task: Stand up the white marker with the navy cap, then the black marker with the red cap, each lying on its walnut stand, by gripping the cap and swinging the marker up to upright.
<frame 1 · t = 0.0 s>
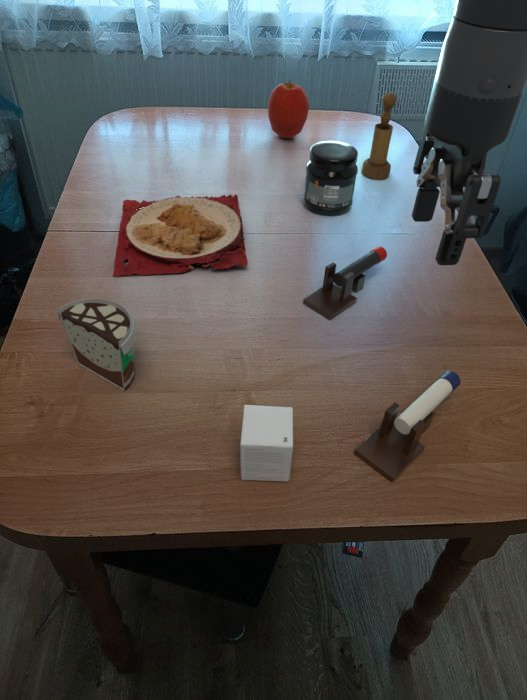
hand: (432, 240, 58), 26 cm above the table, tool pointing down, fingers open, 8 cm apart
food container: (116, 366, 79), on the table
black marker stand: (335, 299, 92), on the table
mortar and pestle: (375, 174, 127), on the table
black marker: (360, 266, 93), point 4 cm above the table, hinge at 0.0°
white marker: (428, 401, 71), point 4 cm above the table, hinge at 0.0°
plate with food: (181, 237, 105), on the table
supplement container: (327, 205, 116), on the table
product box: (265, 462, 68), on the table
white marker stand: (395, 445, 70), on the table
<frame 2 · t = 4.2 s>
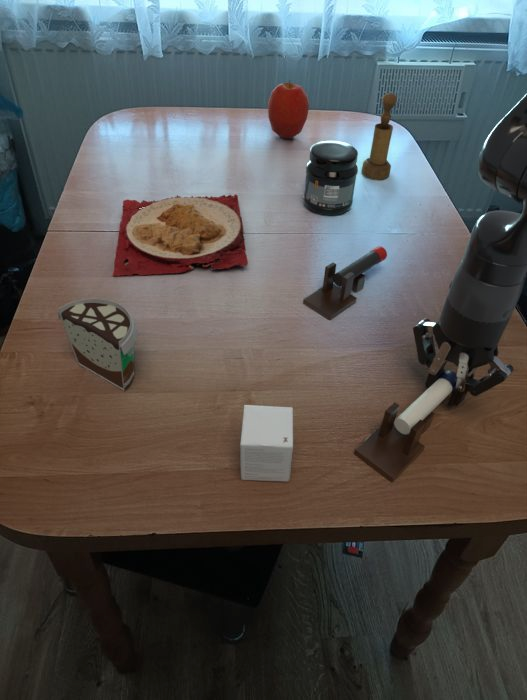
hand: (442, 396, 75), 1 cm above the table, tool pointing down, fingers closed on white marker, 2 cm apart
white marker: (428, 401, 71), point 4 cm above the table, hinge at 0.0°, touching gripper, white marker stand
everything else where it was.
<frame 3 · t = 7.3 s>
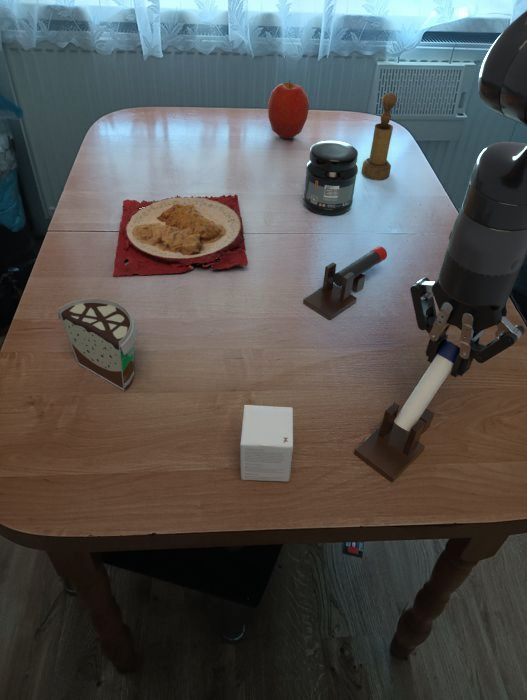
hand: (445, 365, 67), 10 cm above the table, tool pointing down, fingers closed on white marker, 2 cm apart
white marker: (428, 386, 67), point 8 cm above the table, hinge at 47.6°, touching gripper
everything else where it was.
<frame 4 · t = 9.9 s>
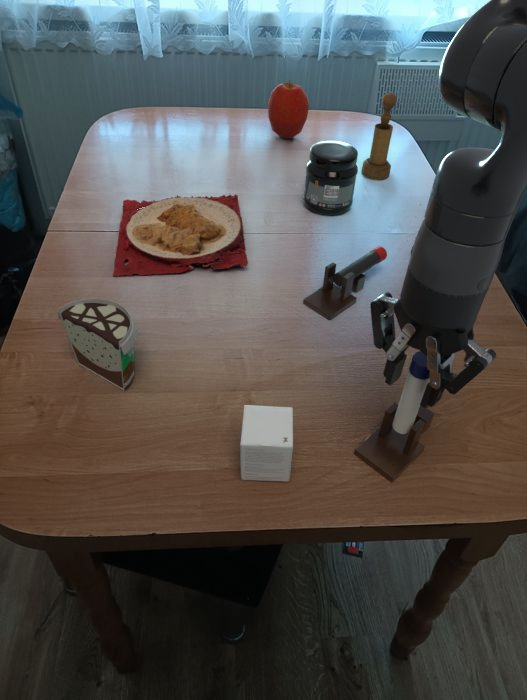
hand: (409, 391, 62), 12 cm above the table, tool pointing down, fingers open, 4 cm apart
white marker: (412, 394, 63), point 10 cm above the table, hinge at 90.3°
everything else where it was.
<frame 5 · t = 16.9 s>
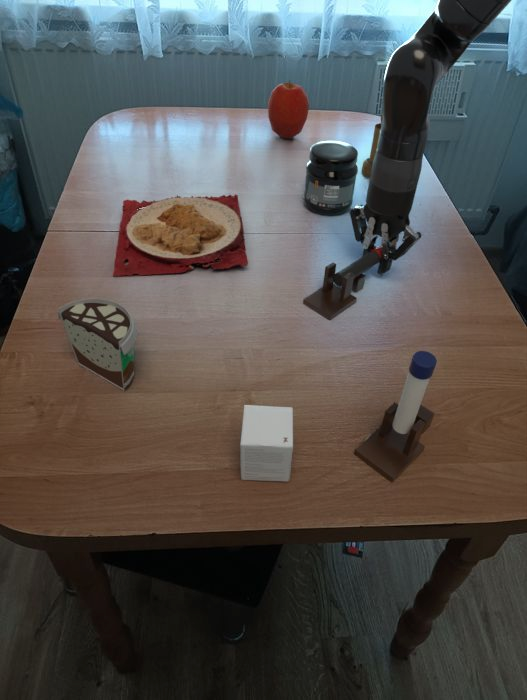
hand: (374, 268, 97), 1 cm above the table, tool pointing down, fingers closed on black marker, 2 cm apart
black marker: (360, 266, 93), point 4 cm above the table, hinge at 0.0°, touching black marker stand, gripper
everything else where it was.
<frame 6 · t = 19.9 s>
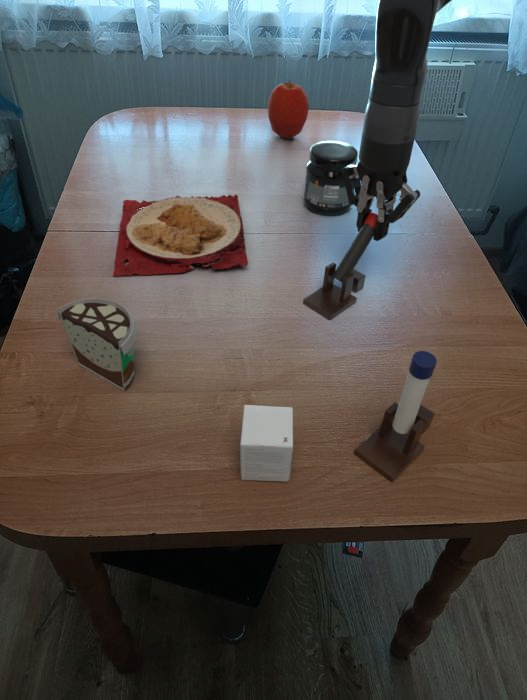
hand: (370, 234, 89), 10 cm above the table, tool pointing down, fingers closed on black marker, 2 cm apart
black marker: (357, 248, 88), point 8 cm above the table, hinge at 47.4°, touching gripper
everything else where it was.
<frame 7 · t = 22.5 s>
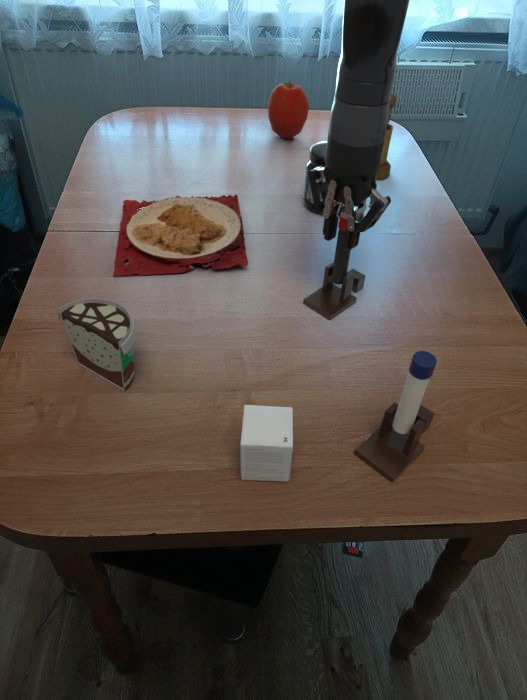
hand: (339, 243, 83), 12 cm above the table, tool pointing down, fingers open, 3 cm apart
black marker: (343, 249, 85), point 10 cm above the table, hinge at 90.1°
everything else where it was.
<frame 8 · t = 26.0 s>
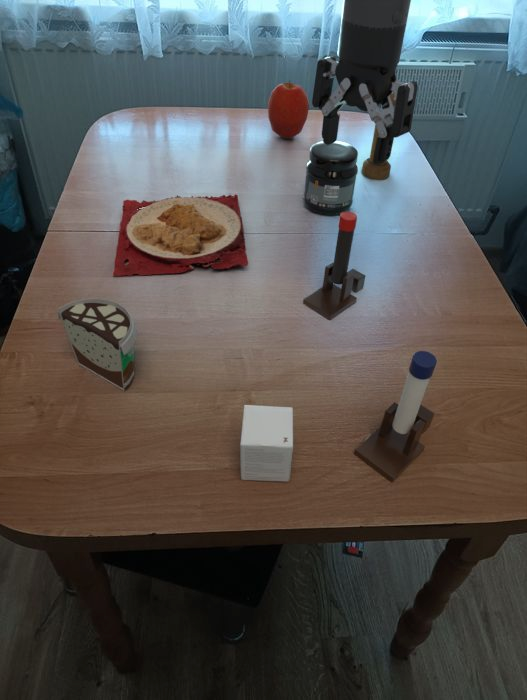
hand: (353, 152, 73), 26 cm above the table, tool pointing down, fingers open, 8 cm apart
nothing on the table moved.
at the end: white marker at +90° (first picture: +0°); black marker at +90° (first picture: +0°) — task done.
